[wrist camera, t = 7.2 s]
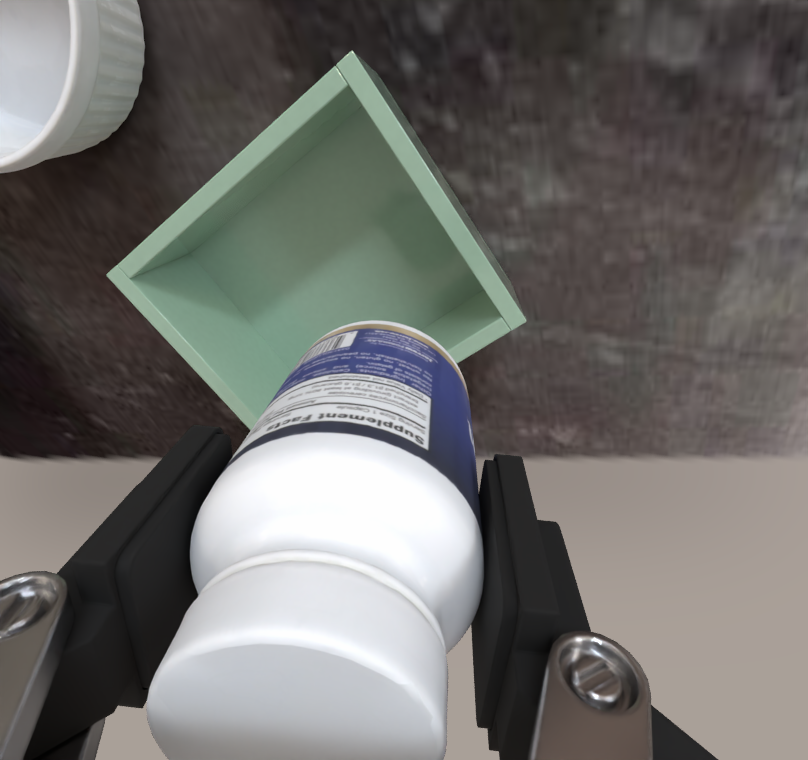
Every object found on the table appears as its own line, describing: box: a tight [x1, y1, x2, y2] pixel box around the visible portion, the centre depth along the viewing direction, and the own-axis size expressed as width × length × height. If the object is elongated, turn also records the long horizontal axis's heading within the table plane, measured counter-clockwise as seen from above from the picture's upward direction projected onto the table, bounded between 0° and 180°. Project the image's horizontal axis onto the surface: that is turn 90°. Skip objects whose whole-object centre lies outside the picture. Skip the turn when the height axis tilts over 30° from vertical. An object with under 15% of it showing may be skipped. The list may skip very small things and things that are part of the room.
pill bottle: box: [147, 320, 484, 760], centre depth 11 cm, size 5×5×10 cm
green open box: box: [106, 51, 527, 430], centre depth 26 cm, size 15×13×7 cm
